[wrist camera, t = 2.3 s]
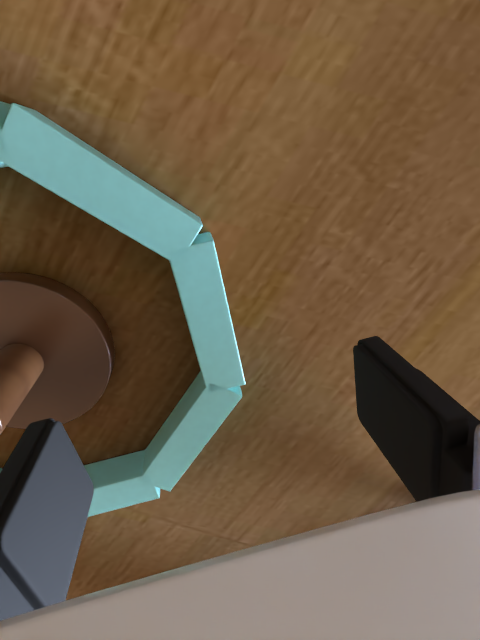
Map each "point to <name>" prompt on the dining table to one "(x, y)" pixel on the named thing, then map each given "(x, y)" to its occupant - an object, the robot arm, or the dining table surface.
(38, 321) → the post
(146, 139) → the dining table surface
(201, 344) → the ring
